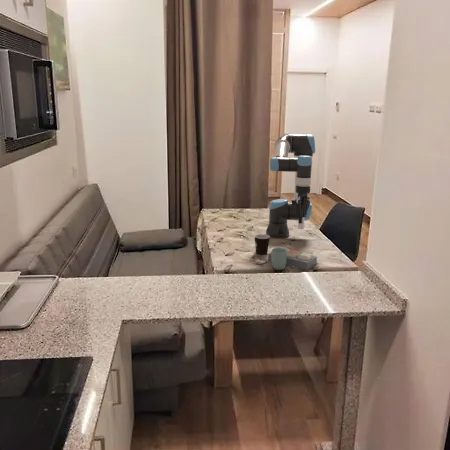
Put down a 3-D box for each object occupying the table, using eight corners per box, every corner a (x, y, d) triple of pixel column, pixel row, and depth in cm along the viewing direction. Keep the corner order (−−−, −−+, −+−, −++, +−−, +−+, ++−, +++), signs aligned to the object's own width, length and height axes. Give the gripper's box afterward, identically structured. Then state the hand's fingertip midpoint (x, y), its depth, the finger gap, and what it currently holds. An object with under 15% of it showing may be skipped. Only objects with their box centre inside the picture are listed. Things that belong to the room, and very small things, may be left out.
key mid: (289, 256, 246) (290, 249, 245) (299, 258, 242) (299, 251, 241) (284, 259, 241) (285, 252, 240) (294, 261, 238) (295, 254, 237)
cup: (275, 264, 238) (276, 247, 235) (288, 268, 234) (289, 249, 231) (268, 269, 232) (268, 250, 229) (281, 272, 228) (282, 253, 225)
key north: (302, 258, 242) (302, 251, 240) (312, 261, 238) (312, 254, 237) (297, 261, 237) (298, 254, 236) (307, 264, 234) (308, 256, 233)
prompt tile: (259, 259, 245) (259, 258, 245) (267, 261, 242) (267, 260, 242) (253, 263, 240) (253, 261, 240) (261, 265, 237) (261, 263, 237)
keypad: (278, 255, 253) (278, 248, 252) (316, 263, 241) (316, 256, 240) (268, 260, 244) (268, 253, 243) (306, 269, 231) (307, 262, 230)
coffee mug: (268, 256, 251) (268, 239, 249) (253, 255, 253) (253, 238, 250) (270, 249, 262) (271, 233, 260) (255, 248, 264) (256, 232, 261)
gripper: (302, 183, 244) (299, 225, 249) (291, 186, 233) (288, 230, 239) (315, 184, 239) (312, 227, 245) (304, 187, 229) (301, 232, 234)
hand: (300, 228), depth 242 cm, fingers closed
